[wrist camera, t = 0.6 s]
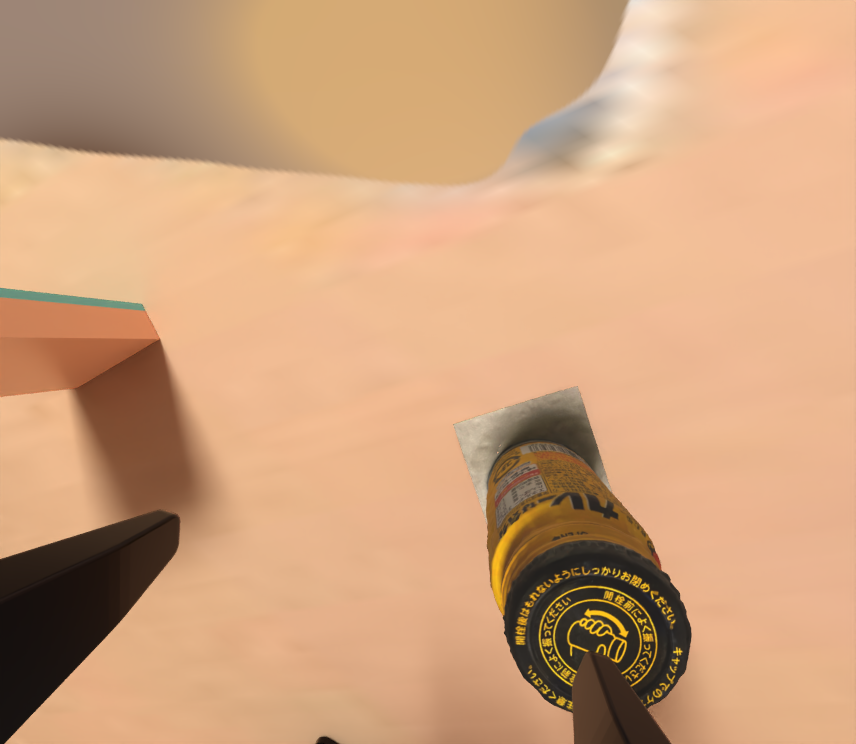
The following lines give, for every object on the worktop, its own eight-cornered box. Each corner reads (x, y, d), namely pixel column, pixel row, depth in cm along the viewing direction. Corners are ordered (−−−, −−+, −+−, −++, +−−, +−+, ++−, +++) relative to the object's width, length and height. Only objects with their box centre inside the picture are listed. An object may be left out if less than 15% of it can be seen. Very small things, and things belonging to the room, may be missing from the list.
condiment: (498, 557, 24) (518, 771, 12) (453, 423, 24) (427, 505, 12) (622, 526, 23) (778, 725, 11) (576, 385, 23) (684, 432, 11)
